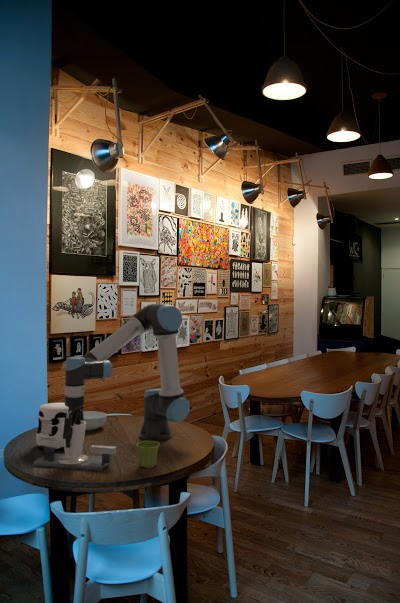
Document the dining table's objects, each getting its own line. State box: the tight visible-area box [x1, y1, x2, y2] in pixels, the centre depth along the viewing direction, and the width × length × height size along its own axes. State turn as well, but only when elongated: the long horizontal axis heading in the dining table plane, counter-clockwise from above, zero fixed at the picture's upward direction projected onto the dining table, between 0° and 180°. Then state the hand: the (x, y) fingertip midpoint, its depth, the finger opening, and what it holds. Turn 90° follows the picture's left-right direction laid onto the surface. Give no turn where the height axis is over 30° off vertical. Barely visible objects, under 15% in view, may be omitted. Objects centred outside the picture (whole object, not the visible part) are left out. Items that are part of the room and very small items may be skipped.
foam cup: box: [62, 420, 86, 458], centre depth 198 cm, size 10×9×13 cm
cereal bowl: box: [83, 410, 108, 431], centre depth 251 cm, size 17×17×7 cm
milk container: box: [35, 402, 69, 450], centre depth 219 cm, size 17×17×18 cm
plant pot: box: [136, 440, 161, 469], centre depth 197 cm, size 9×9×9 cm
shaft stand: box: [32, 438, 117, 472], centre depth 198 cm, size 34×13×7 cm, turn 83°
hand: (73, 451), depth 198 cm, fingers closed on foam cup, 9 cm apart
